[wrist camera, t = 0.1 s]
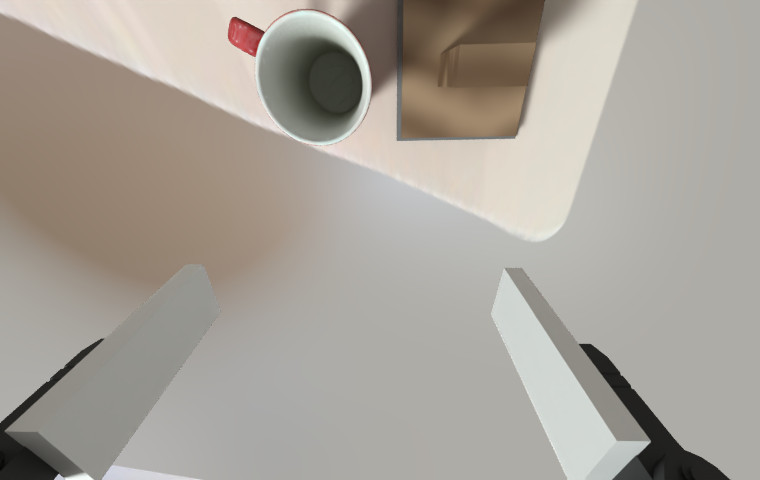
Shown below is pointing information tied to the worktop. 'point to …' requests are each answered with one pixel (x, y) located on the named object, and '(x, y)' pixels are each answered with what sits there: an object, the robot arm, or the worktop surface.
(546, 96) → the worktop surface
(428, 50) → the wooden base stand
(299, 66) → the mug
